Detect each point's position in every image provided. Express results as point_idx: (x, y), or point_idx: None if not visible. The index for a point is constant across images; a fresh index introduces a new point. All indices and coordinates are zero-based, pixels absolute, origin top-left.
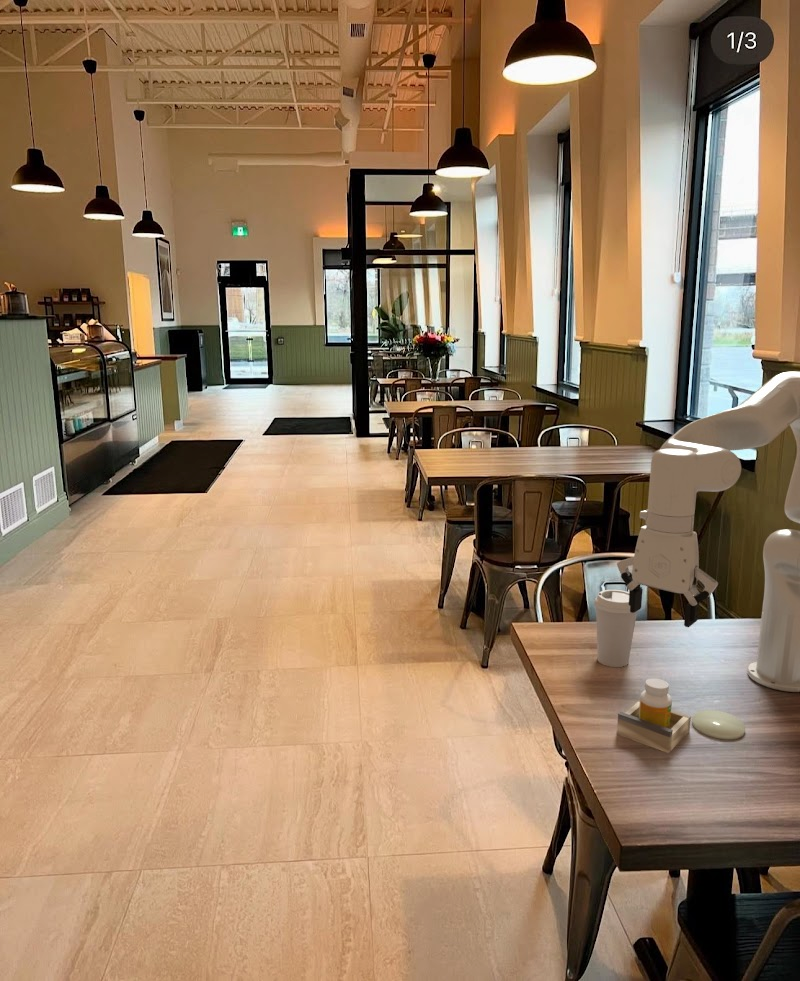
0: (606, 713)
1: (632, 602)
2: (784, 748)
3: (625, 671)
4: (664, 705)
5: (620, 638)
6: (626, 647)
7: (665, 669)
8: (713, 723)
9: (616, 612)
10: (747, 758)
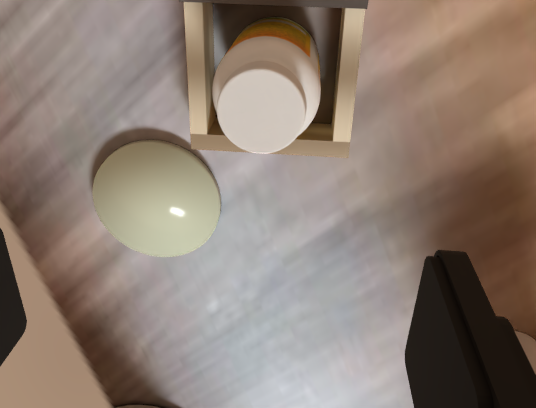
0: (431, 84)
1: (472, 310)
2: (7, 190)
3: None
4: (221, 61)
5: None
6: None
7: (366, 379)
8: (161, 191)
9: None
10: (38, 92)
